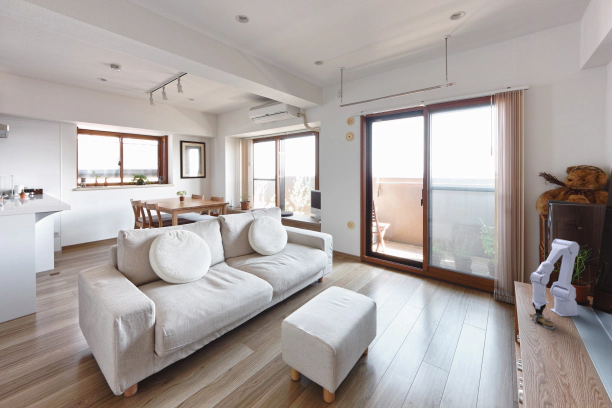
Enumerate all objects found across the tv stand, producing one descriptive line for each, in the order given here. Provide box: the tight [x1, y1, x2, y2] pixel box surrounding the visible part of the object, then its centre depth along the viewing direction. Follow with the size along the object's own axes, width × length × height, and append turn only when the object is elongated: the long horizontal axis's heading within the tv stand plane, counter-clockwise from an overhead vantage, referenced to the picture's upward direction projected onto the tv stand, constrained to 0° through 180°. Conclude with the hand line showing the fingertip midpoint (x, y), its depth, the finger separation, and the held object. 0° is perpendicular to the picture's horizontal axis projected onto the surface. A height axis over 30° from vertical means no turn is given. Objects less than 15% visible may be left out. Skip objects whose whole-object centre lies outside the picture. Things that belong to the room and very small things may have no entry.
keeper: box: [533, 312, 545, 324], centre depth 151 cm, size 2×4×5 cm, turn 93°
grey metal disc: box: [542, 323, 556, 331], centre depth 146 cm, size 5×5×1 cm
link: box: [529, 312, 555, 327], centre depth 149 cm, size 11×4×4 cm, turn 8°
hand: (539, 315), depth 154 cm, fingers closed
